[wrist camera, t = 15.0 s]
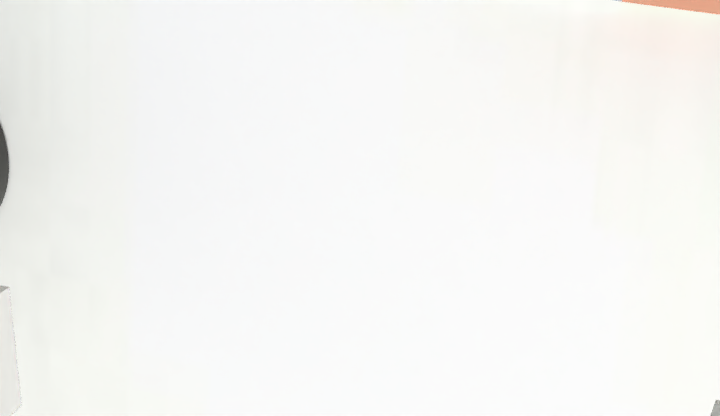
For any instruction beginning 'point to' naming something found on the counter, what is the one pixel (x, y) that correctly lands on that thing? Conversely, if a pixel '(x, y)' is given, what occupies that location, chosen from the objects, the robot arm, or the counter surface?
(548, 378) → the counter surface
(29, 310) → the counter surface
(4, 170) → the robot arm
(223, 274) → the counter surface
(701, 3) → the flat rectangular panel
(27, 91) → the counter surface
